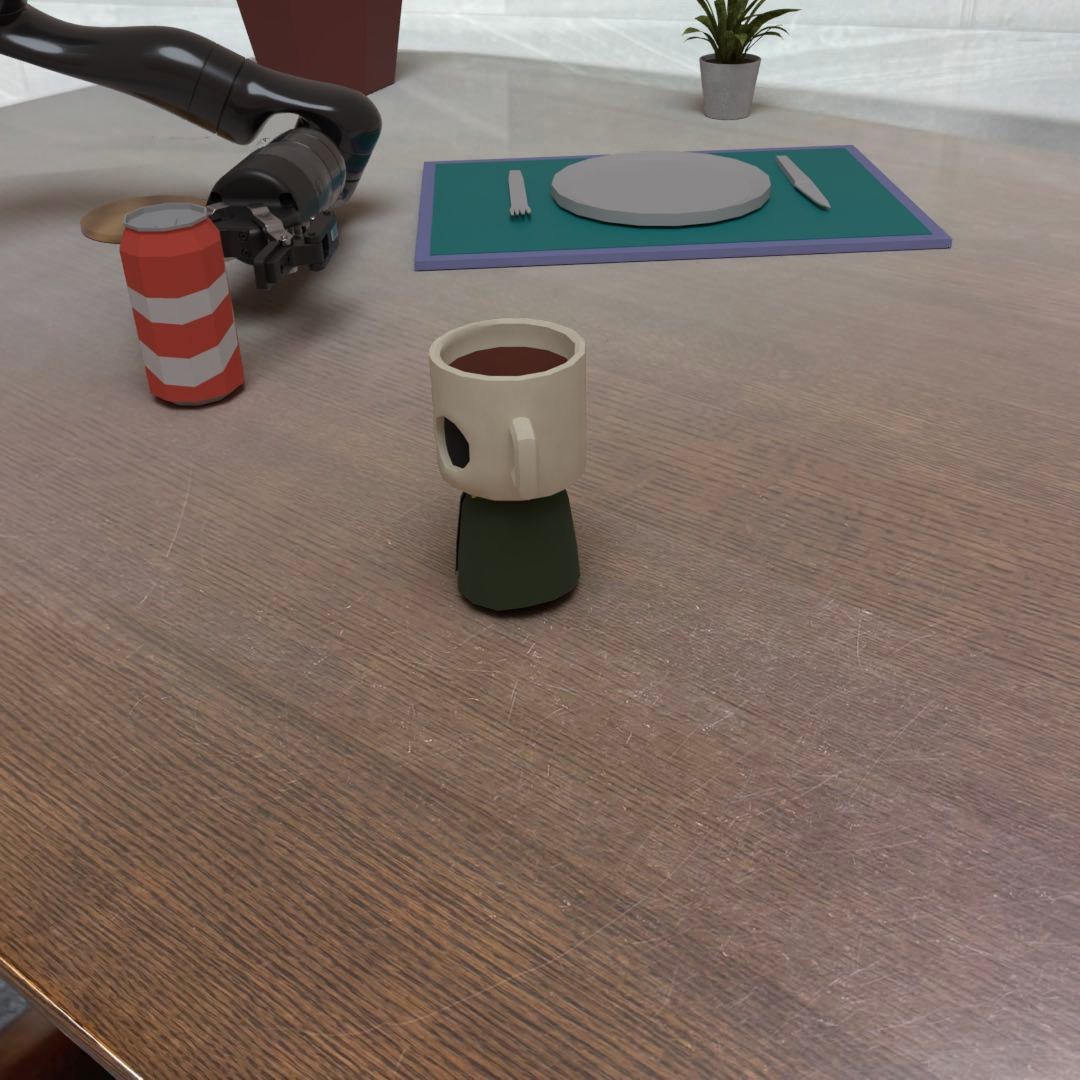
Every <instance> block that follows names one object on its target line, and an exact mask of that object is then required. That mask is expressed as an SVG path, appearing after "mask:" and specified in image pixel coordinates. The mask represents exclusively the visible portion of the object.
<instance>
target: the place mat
mask: <svg viewBox="0 0 1080 1080" xmlns="http://www.w3.org/2000/svg"><path fill="white" fill-rule="evenodd" d="M419 199H420V200H419V201H420V202H419V210H418V220H417V221H418V222H417V231H416V232H417V233H416V240H415V241H416V242H415V252H414V261H413V262H414V271H435V270H437V271H438V270H458V269H481V268H482V269H483V268H484V269H485V268H503V267H504V268H505V267H507V268H508V267H528V266H529V267H530V266H531V267H533V266H552V265H576V264H579V265H580V264H600V263H602V264H603V263H623V262H645V261H646V262H647V261H669V260H694V259H696V260H697V259H717V258H720V259H721V258H742V257H764V256H767V257H768V256H785V255H786V256H787V255H813V254H834V253H860V252H881V251H883V252H884V251H905V250H927V249H928V250H930V249H931V250H932V249H951V248H952V245H953V238H952V237H951V236H950V235H949V234H948V233H947V232H946V231H945V230H944V229H942V227H941V226H940V225H939V224H937V223H936V222H935V221H934V220H933V219H932V218H931V217H930V216H929V215H928V214H927V213H926V212H925V211H924V210H923V209H921V207H919V205H917V204H916V203H915V202H914V201H913V200H912V199H911V198H910V197H909V196H908V195H907V194H906V193H904V191H902V190H901V189H900V188H899V187H898V185H896V184H895V183H894V182H893V181H892V180H891V179H890V178H889V177H888V176H886V175H885V173H883V172H882V171H881V169H879V168H878V167H877V166H876V165H875V164H874V163H873V162H872V161H870V159H868V158H867V157H866V155H864V154H863V153H862V151H860V150H859V148H857V147H856V146H855V145H854V144H841V145H840V144H839V145H835V144H834V145H816V146H815V145H812V146H790V147H789V146H785V147H763V148H762V147H761V148H736V149H713V150H712V149H711V150H686V151H685V150H684V151H683V150H682V151H681V150H673V151H672V150H670V151H669V150H652V151H651V150H643V151H631V152H620V153H611V154H609V153H608V154H607V153H606V154H584V155H559V156H558V155H557V156H534V157H533V156H532V157H507V158H485V159H458V160H456V159H455V160H434V161H433V160H431V161H423V169H422V178H421V189H420V198H419ZM948 247H949V248H948Z"/></svg>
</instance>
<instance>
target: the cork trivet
mask: <svg viewBox="0 0 1080 1080" xmlns="http://www.w3.org/2000/svg"><path fill="white" fill-rule="evenodd" d="M207 201H208V200H205V199H203V198H200V197H195V196H189V195H180V194H159V195H147V196H146V195H145V196H139V197H137V196H136V197H132V198H126V199H121V200H117V201H114V202H109V203H106V204H103V205H101V206H98V207H96V208H93V209H91V210H90V211H88V212H87V213H86V214H84V215H83V216H82V217H81V219H80V223H79V224H80V228H81V232H82V234H83V235H84V236H85V237H87V238H89V239H92V240H94V241H98V242H102V243H111V244H120V243H121V239H122V236H123V231H124V230H125V227H124V225H123V220H124V215H126V214H128V213H130V212H132V211H134V210H137V209H139V208H141V207H147V206H152V205H158V204H163V203H193V204H196V205H200V206H203V207H205V206H206V203H207Z"/></svg>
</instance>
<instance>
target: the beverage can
mask: <svg viewBox="0 0 1080 1080" xmlns="http://www.w3.org/2000/svg"><path fill="white" fill-rule="evenodd" d="M123 225H124V227H125V230H124V233H123V236H122V239H121V243H119V249H118V252H119V256H120V260H121V265H122V269H123V270H122V271H123V273H124V274H123V275H124V279H125V283H126V289H127V292H128V297H129V301H130V305H131V310H132V316H133V320H134V323H135V329H136V332H137V338H138V342H139V346H140V351H141V356H142V359H143V360H142V361H143V365H144V369H145V374H146V379H147V383H148V388H149V393H150V394H151V395H154V396H156V397H157V398H160V399H162V400H164V401H167V402H170V403H172V404H175V405H177V406H191V407H192V406H193V407H195V406H197V407H198V406H199V407H200V406H204V405H208V404H211V403H215V402H219V401H222V400H223V399H225V398H227V397H228V396H229V395H230V394H232V393H233V392H234V391H235V389H237V388H238V387H240V386H241V385H242V384H244V383H245V373H244V365H243V361H242V360H243V359H242V356H241V355H242V353H241V348H240V341H239V336H238V331H237V325H236V319H235V314H234V308H233V303H232V302H233V301H232V295H231V290H230V285H229V279H228V278H229V277H228V273H227V267H226V262H225V260H224V255H223V249H222V243H221V237H220V231H219V230H218V228H217V227H216V226H215V225H214V224H213V222H212V221H211V220H210V219H209V217H208V216H207V209H206V207H203V206H200V205H196V204H193V203H163V204H158V205H152V206H147V207H141V208H139V209H137V210H134V211H132V212H130V213H128V214H126V215H124V220H123Z"/></svg>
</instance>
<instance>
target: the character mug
mask: <svg viewBox="0 0 1080 1080" xmlns="http://www.w3.org/2000/svg"><path fill="white" fill-rule="evenodd" d="M586 348H587V347H586V340H585V339H584V338H583V337H582V336H581V335H580V334H578V332H576V331H575V330H574V329H572V328H570V327H567V326H564V325H562V324H559V323H556V322H553V321H547V320H541V319H536V318H529V317H524V318H523V317H508V318H507V317H503V318H502V317H501V318H500V317H499V318H498V317H497V318H493V319H486V320H481V321H480V320H479V321H475V322H470V323H467V324H464V325H461V326H458V327H456V328H453V329H450V330H448V331H446V332H445V333H444V334H442V335H440V336H439V337H438V338H436V339H435V340H433V342H432V343H431V345H430V347H429V350H428V362H429V363H428V364H429V375H430V377H429V378H430V387H431V388H430V390H431V399H432V400H431V401H432V416H433V418H432V419H433V422H432V423H433V434H434V439H435V440H434V441H435V448H436V449H435V450H436V462H437V467H438V469H439V473H440V476H441V478H442V480H443V481H444V482H445V483H447V484H448V485H449V486H451V487H452V488H454V489H457V490H458V491H461V494H460V497H459V507H458V518H457V529H456V538H455V565H454V567H455V568H454V575H455V576H457V591H458V592H459V593H460V594H461V595H462V596H464V597H465V598H466V599H467V600H468V601H469V602H471V603H472V604H474V605H477V606H480V607H484V608H486V609H490V610H494V611H497V612H501V611H509V610H516V609H523V608H528V607H532V606H536V605H540V604H544V603H549V602H553V601H555V600H557V599H559V598H561V597H562V596H565V595H566V594H568V593H569V592H571V591H573V590H574V588H575V587H576V585H577V583H578V581H579V579H580V578H581V570H580V568H581V567H580V560H579V559H580V558H579V552H578V542H577V537H576V531H575V526H574V520H573V514H572V513H573V512H572V508H571V503H570V502H571V501H570V497H569V493H568V491H567V489H569V488H571V487H573V486H574V485H575V484H576V483H577V482H578V480H579V479H580V478H581V477H582V476H583V475H584V474H585V471H586V466H587V349H586Z"/></svg>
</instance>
